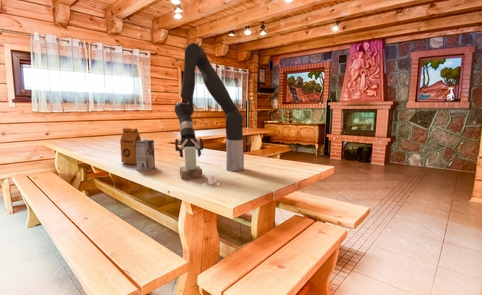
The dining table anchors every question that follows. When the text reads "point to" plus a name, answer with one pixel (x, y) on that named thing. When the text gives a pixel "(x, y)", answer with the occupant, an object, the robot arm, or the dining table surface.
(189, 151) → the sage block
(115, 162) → the dining table surface
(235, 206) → the dining table surface
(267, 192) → the dining table surface
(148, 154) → the coffee box
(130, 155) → the coffee package
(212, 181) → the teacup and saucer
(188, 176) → the walnut plinth
